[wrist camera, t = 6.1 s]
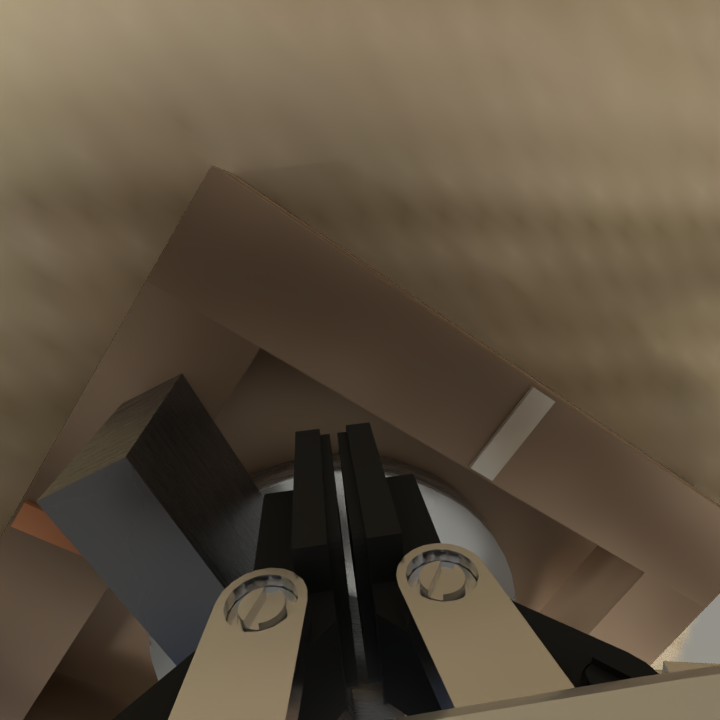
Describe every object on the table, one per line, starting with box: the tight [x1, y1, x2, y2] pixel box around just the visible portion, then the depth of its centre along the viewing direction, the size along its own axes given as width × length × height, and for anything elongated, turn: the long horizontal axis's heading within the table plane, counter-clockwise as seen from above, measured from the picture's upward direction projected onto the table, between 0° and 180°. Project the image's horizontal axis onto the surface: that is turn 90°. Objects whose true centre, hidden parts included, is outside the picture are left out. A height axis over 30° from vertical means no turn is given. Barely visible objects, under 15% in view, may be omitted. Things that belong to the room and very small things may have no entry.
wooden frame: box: [0, 166, 720, 720], centre depth 17 cm, size 20×20×3 cm
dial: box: [36, 373, 515, 720], centre depth 13 cm, size 16×12×6 cm
